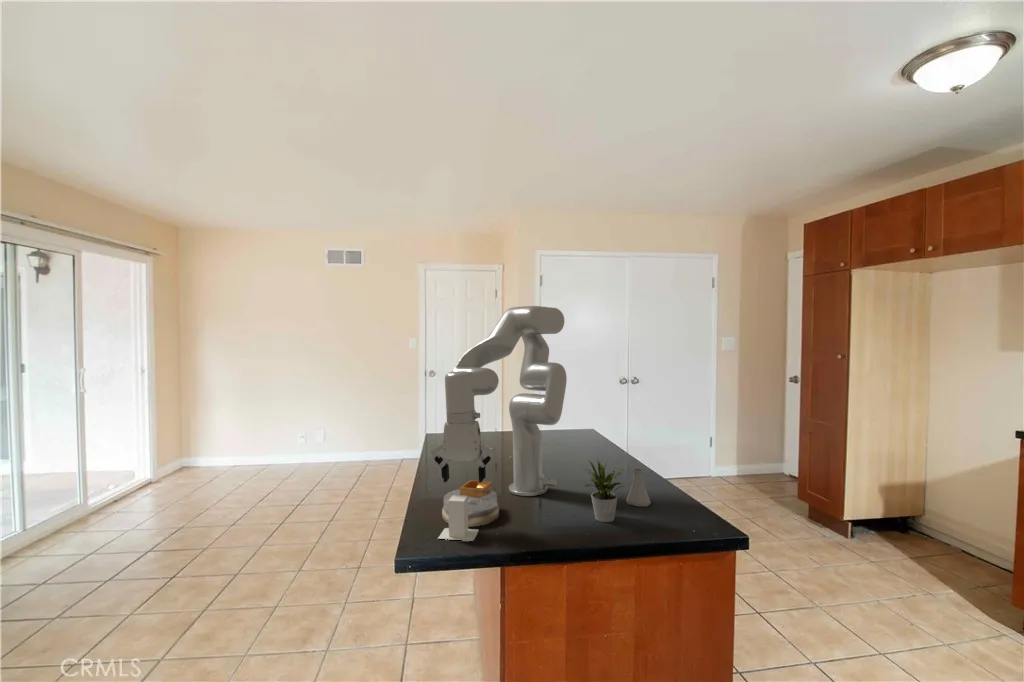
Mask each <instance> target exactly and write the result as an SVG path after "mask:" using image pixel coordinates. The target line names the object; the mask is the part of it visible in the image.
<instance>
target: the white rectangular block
mask: <svg viewBox="0 0 1024 682" xmlns="http://www.w3.org/2000/svg"><path fill="white" fill-rule="evenodd" d="M448 511H449V524H448V528H449V537H464V538H465V536H466V534H467V532H468V529H469V527H468V496H463V495H452V497H451V498H450V499H449V501H448Z"/></svg>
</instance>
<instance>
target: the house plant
mask: <svg viewBox="0 0 1024 682" xmlns="http://www.w3.org/2000/svg"><path fill="white" fill-rule="evenodd" d="M585 460H586V461H588V462H589V463H590V465H591V468H592V471H593V472H592V471H591V469H589V468H587V467H586V466H583V465H581V467H583V470H584V471H586V472H588V474H589V475H590V478H589V480H590V481H591V482H593V484H592V483H586V482H585V485H584V486H583V488H582V490H584V489H586V488H588V487H591V486H593V487H595V488H596V489H597V491H596V490H594V492H592V493H591V494H590V496H591V502H592V508H593V513H594V518H595V520H596V521H598V522H603V523H611V522H613V521H614V520H615V516H616V509H617V508H616V507H617V503H618V494H616V493H615V491H616V490H618V489H620V488H622V487H624V488H626V486H625V485H623V483H621V482H614V480H616V478H617V477H618V476H619V475H620V474H621V473H622V472H623V471H624V470H627V469H628V467H626V468H623V469H621V470H620V471H619V472H618V473H617V474H615V472H616V470H617V468H618V466H619V465H618V464H616V466H615V467H614V468H613V470H612V472H611V473H609V474H607V475H606V472H605V470H606V467H607V463H605V464H604V465H603V464H602V463H601V462H600V460H599V458H597V470H596V467H595V465H594V463H593V462H592V461H591V460H590V459H588V458H585ZM608 460H609V459H608ZM608 460H606V462H608ZM584 468H585V469H584ZM586 469H587V470H586ZM597 471H598V472H597ZM590 473H591V474H592V475H591V474H590ZM614 475H615V476H614ZM581 482H583V483H584V481H582V480H581ZM618 485H620V486H618ZM616 486H618V487H617V488H615V487H616ZM614 488H615V489H614ZM613 489H614V490H613ZM612 490H613V491H612Z"/></svg>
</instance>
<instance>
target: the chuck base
mask: <svg viewBox="0 0 1024 682" xmlns="http://www.w3.org/2000/svg"><path fill="white" fill-rule="evenodd" d="M499 516H500V506H499V503H497V508H496V510H495V511H493V512H492V513H489V514H487V515H484V516H479V517H471V518H468V528H476V527H480V525H481V526H486V525H487V524H491V523H493V522H495V521H496V520H497V519H498V518H499ZM441 517H442V518H441V519H442V521H443V520H444V521H445V523H446V524H447V523H448V525H449V514H447V513H446V512H445V511H444V506H443V507H442V508H441ZM495 519H496V520H495ZM494 520H495V521H494ZM444 521H443V522H444ZM492 521H493V522H492ZM490 522H491V523H490ZM475 526H476V527H475Z"/></svg>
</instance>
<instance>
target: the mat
mask: <svg viewBox="0 0 1024 682" xmlns="http://www.w3.org/2000/svg"><path fill="white" fill-rule="evenodd" d="M478 533H479V529H475V528H473V529H472V528H468V532H467V534H466V536H465V538H464V537H449V527H444V529H442V532H440V535H439V536H438V537H437V540H438V539H445V540H444V541H449V540H462V541H461V542H469V541H473V540H474V541H475V538H476V537H477V535H478ZM447 539H448V540H447ZM474 541H473V542H474Z"/></svg>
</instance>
